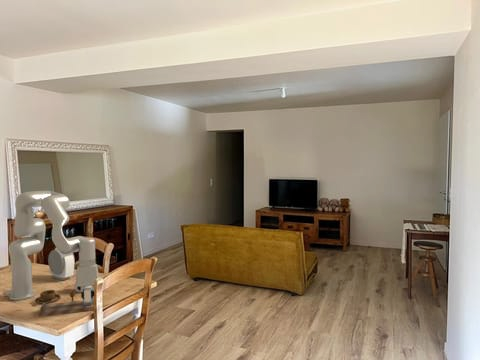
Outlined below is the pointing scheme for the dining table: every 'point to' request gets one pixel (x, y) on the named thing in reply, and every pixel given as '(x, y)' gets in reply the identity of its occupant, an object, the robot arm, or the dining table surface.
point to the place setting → (50, 297)
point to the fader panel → (64, 308)
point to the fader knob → (87, 296)
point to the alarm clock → (61, 265)
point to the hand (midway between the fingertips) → (88, 298)
